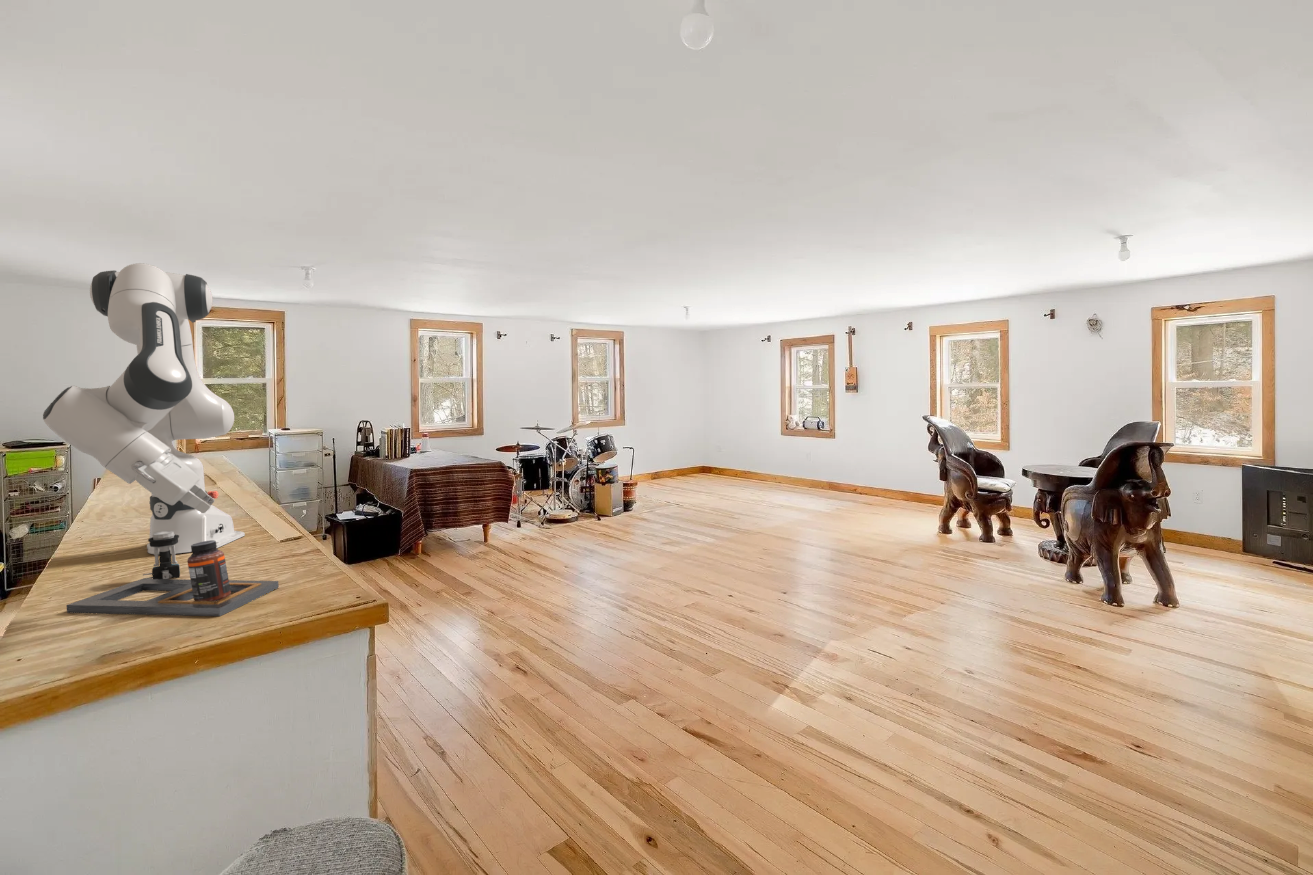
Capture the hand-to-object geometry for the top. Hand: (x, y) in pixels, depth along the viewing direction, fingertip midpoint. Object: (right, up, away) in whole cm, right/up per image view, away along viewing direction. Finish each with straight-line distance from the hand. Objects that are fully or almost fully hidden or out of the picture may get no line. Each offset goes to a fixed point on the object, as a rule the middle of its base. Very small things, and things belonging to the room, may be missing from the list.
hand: (209, 507), depth 124 cm
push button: (-21, -17, +16) cm, 32 cm away
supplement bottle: (0, -18, +1) cm, 18 cm away
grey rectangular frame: (-7, -18, +2) cm, 20 cm away
